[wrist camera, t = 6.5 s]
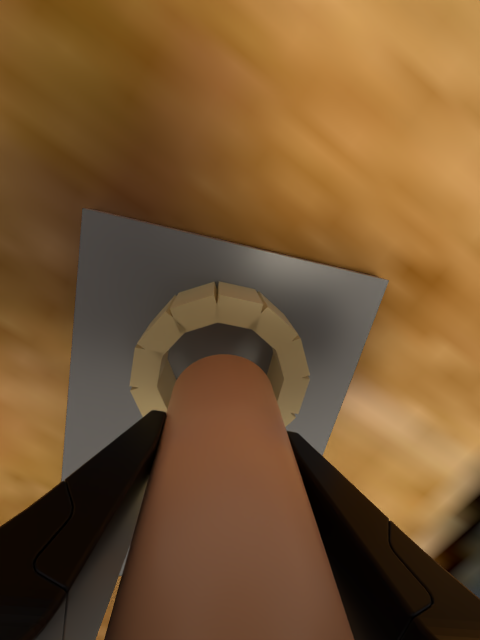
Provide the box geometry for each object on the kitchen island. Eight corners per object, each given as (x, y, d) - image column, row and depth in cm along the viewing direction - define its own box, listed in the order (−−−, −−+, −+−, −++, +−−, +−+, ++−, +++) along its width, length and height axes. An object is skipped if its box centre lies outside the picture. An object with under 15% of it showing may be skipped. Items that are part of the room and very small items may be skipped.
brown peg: (259, 449, 11) (347, 930, 4) (164, 435, 11) (31, 954, 3) (285, 364, 10) (480, 780, 3) (181, 345, 10) (47, 783, 2)
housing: (269, 571, 20) (300, 783, 13) (62, 552, 18) (-47, 784, 11) (377, 276, 14) (554, 338, 7) (92, 209, 13) (-94, 191, 5)
